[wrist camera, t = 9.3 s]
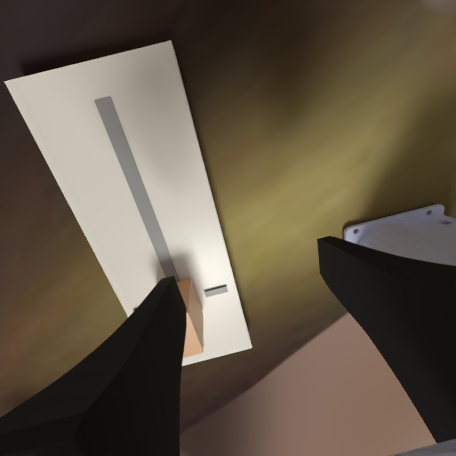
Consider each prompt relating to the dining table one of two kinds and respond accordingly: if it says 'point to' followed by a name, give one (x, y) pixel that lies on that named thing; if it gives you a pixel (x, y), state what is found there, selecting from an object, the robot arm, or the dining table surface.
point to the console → (137, 180)
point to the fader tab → (192, 319)
